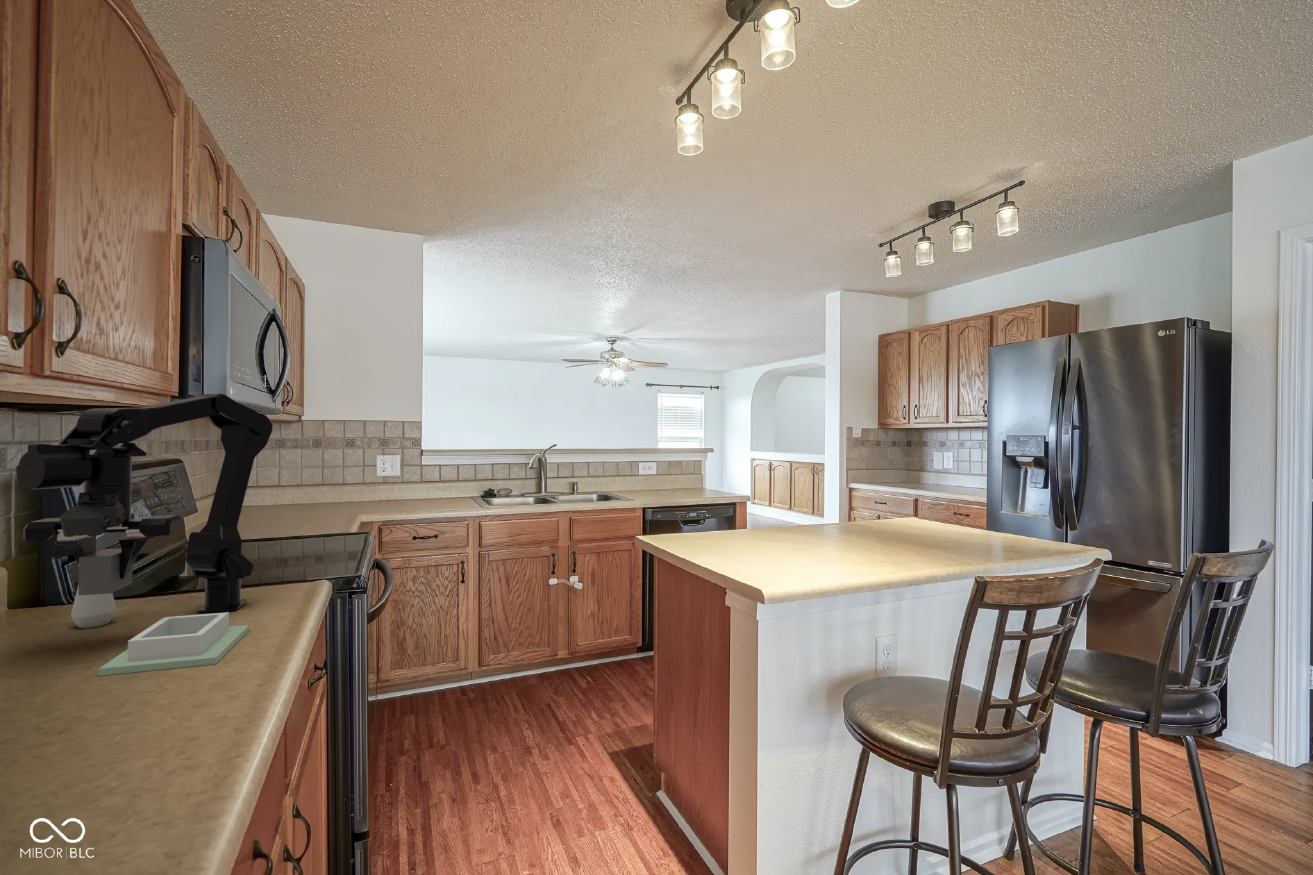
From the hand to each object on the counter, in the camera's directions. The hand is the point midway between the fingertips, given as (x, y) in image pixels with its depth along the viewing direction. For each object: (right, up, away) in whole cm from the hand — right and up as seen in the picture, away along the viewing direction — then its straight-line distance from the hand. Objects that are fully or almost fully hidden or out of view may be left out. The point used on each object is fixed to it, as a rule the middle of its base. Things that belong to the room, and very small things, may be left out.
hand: (106, 579), depth 96 cm
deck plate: (+15, -11, -3) cm, 18 cm away
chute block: (0, -2, 0) cm, 2 cm away
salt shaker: (-11, -11, +9) cm, 18 cm away
